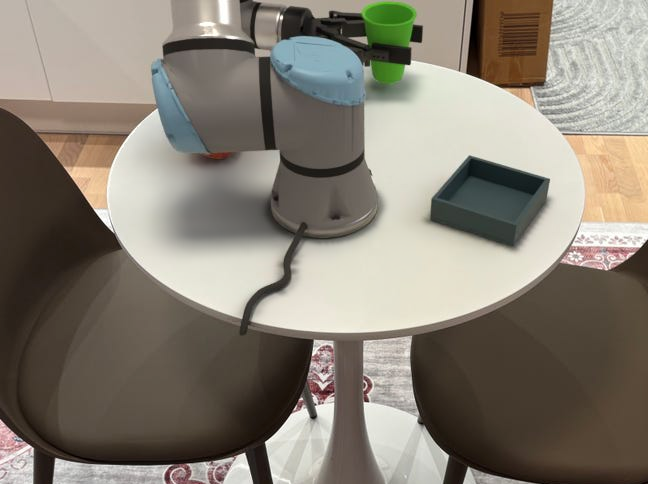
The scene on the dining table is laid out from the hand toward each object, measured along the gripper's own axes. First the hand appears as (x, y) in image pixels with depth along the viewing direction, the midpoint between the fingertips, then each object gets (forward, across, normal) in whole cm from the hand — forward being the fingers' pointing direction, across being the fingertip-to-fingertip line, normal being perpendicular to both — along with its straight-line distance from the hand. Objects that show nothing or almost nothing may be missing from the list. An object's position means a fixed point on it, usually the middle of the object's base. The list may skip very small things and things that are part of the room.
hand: (416, 45), depth 140 cm
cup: (-5, 0, -6) cm, 8 cm away
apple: (-25, +28, -8) cm, 38 cm away
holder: (+18, +31, -8) cm, 37 cm away
